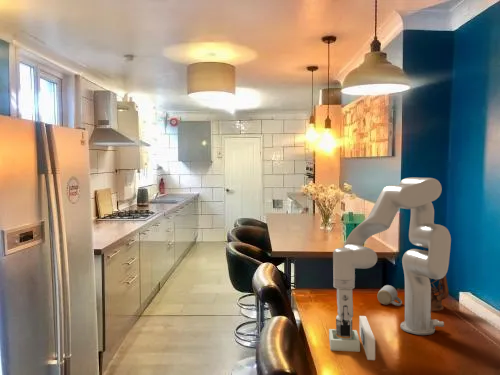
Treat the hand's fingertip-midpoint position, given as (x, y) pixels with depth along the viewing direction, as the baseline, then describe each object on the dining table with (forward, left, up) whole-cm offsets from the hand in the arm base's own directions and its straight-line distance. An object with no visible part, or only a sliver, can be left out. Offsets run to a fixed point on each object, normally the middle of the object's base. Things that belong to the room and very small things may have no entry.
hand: (344, 331), depth 149 cm
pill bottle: (0, 0, -2) cm, 2 cm away
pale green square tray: (0, 0, -5) cm, 5 cm away
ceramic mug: (-25, -49, -5) cm, 56 cm away
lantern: (-42, -47, -5) cm, 63 cm away
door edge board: (-8, 0, -5) cm, 9 cm away
